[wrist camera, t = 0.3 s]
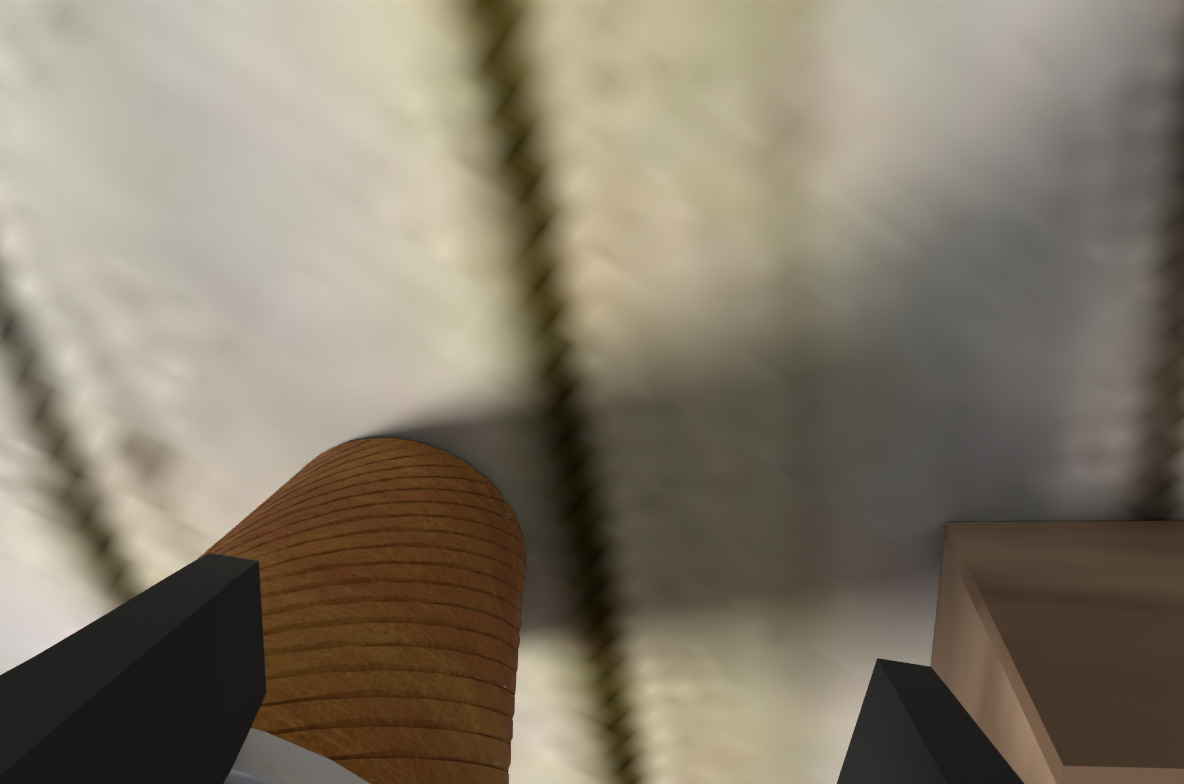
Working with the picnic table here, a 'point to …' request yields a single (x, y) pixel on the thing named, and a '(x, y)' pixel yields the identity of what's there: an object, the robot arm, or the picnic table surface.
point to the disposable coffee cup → (384, 621)
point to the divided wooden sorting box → (1068, 645)
